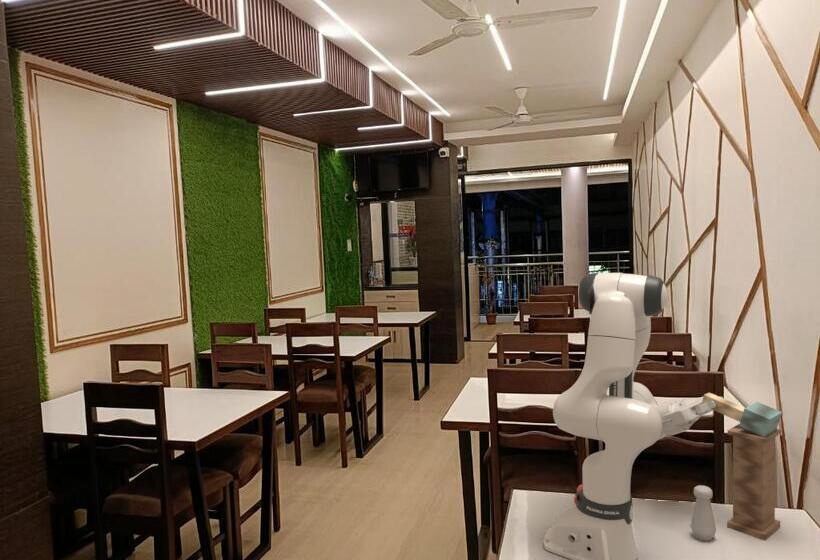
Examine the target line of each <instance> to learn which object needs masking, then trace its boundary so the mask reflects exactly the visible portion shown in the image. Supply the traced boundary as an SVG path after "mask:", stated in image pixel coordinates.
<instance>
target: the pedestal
mask: <svg viewBox="0 0 820 560" xmlns="http://www.w3.org/2000/svg"><path fill="white" fill-rule="evenodd" d="M739 424H740V423H738V424H736V425H735V426H733V427H731V428H729V429H727V432H726V434H727V435H729V436H732V441H733V442H732V451H733V452H732V490H733V491H732V518H730V519H729V520H728V521H727V524H726V525H727V528H728V529H731V530H733V531H736V532H738V533H742V534H744V535H745V534H746V535H748V536H751V537H754V538H756V539H759V540H763V541H765V542H766V541H767V540H768V539H769V538H770V537H771V536H772V535H773V534H774V533H776V532H777V531H778V530H779V529H780V527H781V521H780V520H778V519H776V508H775V507H776V499H775V498H776V437H778V436H779V435H781V434H782V429H781V428H778V427H777V429H776V430H775V431H773V432H772V433H770V434H769V435H767V436H765V437H762V436H760V435H758V434H756V433H753V432H751V431H749V430H747V429H745V428H743V427H740V426H739Z"/></svg>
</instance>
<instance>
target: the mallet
mask: <svg viewBox="0 0 820 560" xmlns="http://www.w3.org/2000/svg"><path fill="white" fill-rule="evenodd" d="M702 397H703V400H702V404H703V403H707V402H709V401H712V400H715V401H716V403H717V406H716V407H714V408H712V410H713V411H714V412H717V413H720V414H721V415H723V416H725V417H727V418H730V419H732V420H735V421H737V422H738V424H739V426H740V427H743V428H745V429H747V430H749V431H751V432H753V433H756V434H758V435H760V436H762V437H765V436H767V435H769V434H770V433H772V432H773V431H775V430H776V429H777V428H778V426H779V423H780V420H781V417H782V415H783V411H780V410H779V409H775V408H773V407H771V406H768V405H766V404H763V403H761V402H758V401H756V402H754V403H752V404H750V405H748V406H747V407H744V406H741V405H739V404H736V403H734V402H732V401H731V400H728V399H725V398H721V397H722V396H718V395H716V394H715V393H711V392H707V393H704V394H703V396H702Z"/></svg>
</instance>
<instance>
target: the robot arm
mask: <svg viewBox="0 0 820 560" xmlns="http://www.w3.org/2000/svg"><path fill="white" fill-rule="evenodd" d="M577 290H578V291H577V295H578V301H579V304H580V306H581V307H582V309H584V310H585V311H586V312H588V314H589V315H590V319H589V326H588V332H587V343H586V344H587V345H586V351H585V352H586V353H585V359H584V365H583V368H582V371H581V373H580V375H579V377H578V378H577V380H576V381H575V382H574V384H573V385H572V386H571V387H569V388H568V389H567V390H565V391H563V392H562V393H561V394H560V395H558V397H556V399H555V402H554V404H553V408H552V416H553V420H554V424H556V426H557V428H558V429H559V430H562V431H564V432H565V433H568V434H570V435H574V436H576V437H582V438H587V439H592V440H596V441H602V442H604V444H605V445H604V448H605V449H604V450H600V451H597V452H594V453H592V454H589V455H588V456H587V457H586V458H585V459H584V461H583V464H582V484H579V485H578V486H577V488H576V492H575V494H574V497H573V504H571V505H569V506H567V507H566V508H564V509H562V510H561V511H560V512H559V513H558V514H557V516H556V517H555V519H554V521H553V525H552V526H551V527H550V528H548V530H547V531H546V533H545V534H544V536H543V540H542V541H543V542H542V545H543V549H544V550H545V551H548V552H551V553H553V554H555V555H557V556H558V555H559V556H561V557H563V558H567V559H569V560H637V559H638V557H639V550H638V548H637V545H636V541H635V537H634V530H633V523H632V522H633V519H634V518H633V517H634V503H633V497H632V495H631V479H632V478H631V477H632V469H633V465H634V462H635V460H636V458H637V457H638V456H639V455H640V454H641V452H642V451H644V450H646V449H648V448H649V447H651V446H652V445H654V444H655V443H656V442H657V441H658V440H661V439H663V438H664V437H666V436H674V435H677V434H680V433H684V432H686V431H689V429H690V428H691V427H692V425H693V424H695V423H696V422H697V421H699V419H700V418H701V417H702V416H704V415H706V414H708V413H711V412H712V411H714V410H712V408H714V407H716V406H717V403H716V401H715V400H712V401H709V402H707V403H703V404H702V400H703V397H704V396H701V397H696V398H693V399H689V398H686V399H681V400H675V399H673V400H670V401H667V402H664V403H662V404H660V405H658V403H657V401H656V398H655V397H654V395H653V394H652V392H651V391H650V389H649V388H648V387H647V386H646V385H644V384H643V383H641V382H638V381H634V376H635V372H636V370H637V367H638V365H639V363H640V361H641V359H642V357H643V356H644V353H646V351H647V348H648V347H649V344H650V339H651V334H652V333H651V331H652V326H651V325H652V321H651V317H653V316H654V317H655V316H659V315H660V314H661V313H663V312H664V309H665V307H666V306H667V303H668V298H669V297H668V296H669V295H668V289H667V286H666V283H665V281H664V280H663V279H662V278H661V277H659V276H655V275H650V274H648V275H641V274H635V273H624V272H606V273H605V272H603V273H598V272H593V273H588V274H585V275H584V276H583V277H582V278H581V280H580V283H579V285H578V289H577ZM720 397H721V398H723V396H720ZM723 399H724V398H723Z"/></svg>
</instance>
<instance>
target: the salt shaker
mask: <svg viewBox="0 0 820 560" xmlns="http://www.w3.org/2000/svg"><path fill="white" fill-rule="evenodd" d="M713 494H714V493H713V490H712V489H711V487H709V486H706V485H700V484H699V485H696V486H695V487H694V488H693V495H694V497H696V498H695V503H694V509H693V512H692V517H691V520H690V521H691V522H690V530H691V531H692V533H693V536H694V537H695V539H698V540H699V541H702V542H710V541H712V540H713V538H714V537H715V534H716V532H717V527H716V522H715V516H714V512H713V506H712V501H711V499H712V498H713Z"/></svg>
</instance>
